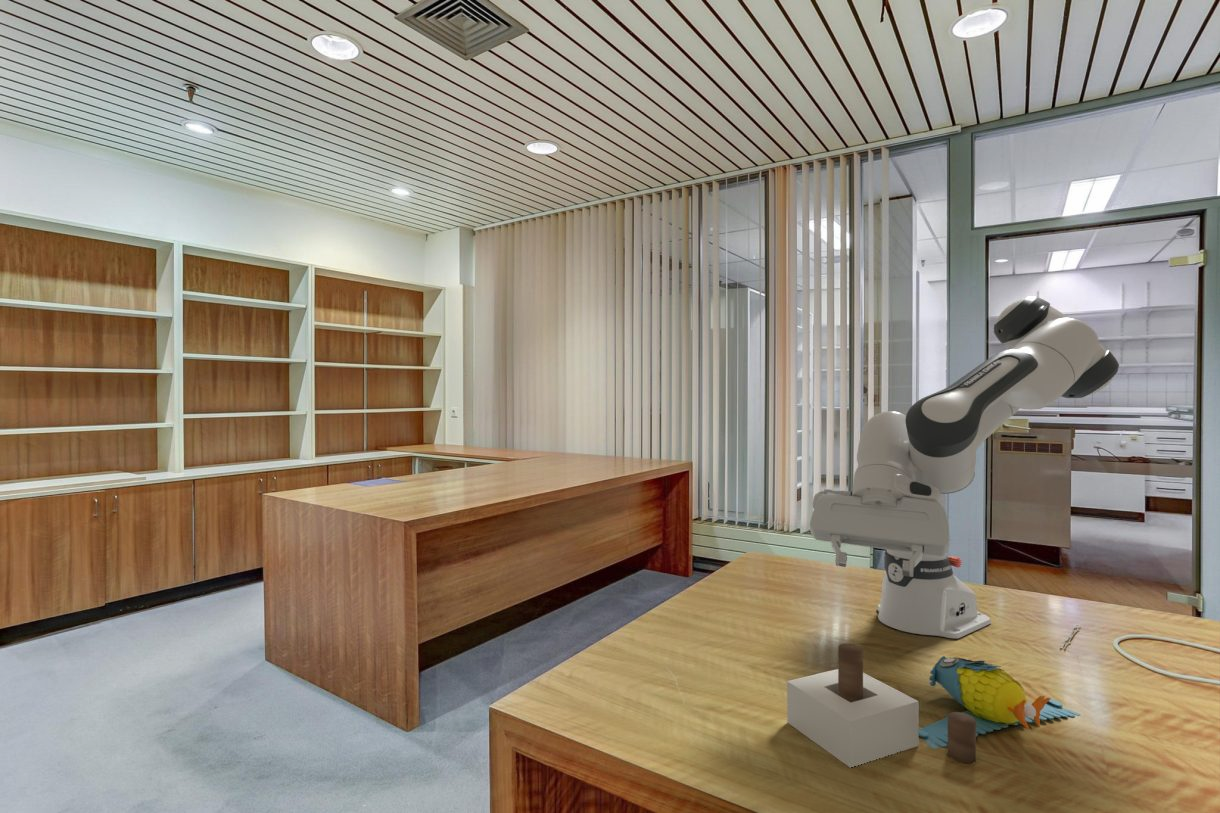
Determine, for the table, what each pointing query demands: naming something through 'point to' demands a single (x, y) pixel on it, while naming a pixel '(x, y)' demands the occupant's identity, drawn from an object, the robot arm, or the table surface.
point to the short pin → (962, 737)
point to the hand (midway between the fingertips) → (873, 569)
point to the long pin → (850, 672)
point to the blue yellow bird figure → (986, 699)
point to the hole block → (853, 718)
